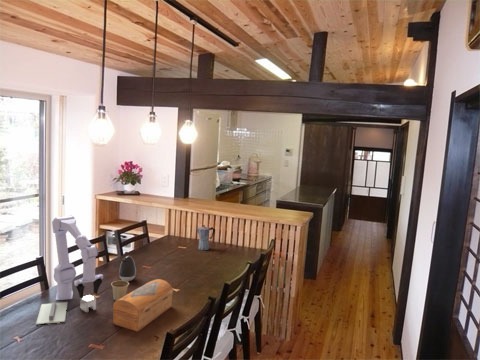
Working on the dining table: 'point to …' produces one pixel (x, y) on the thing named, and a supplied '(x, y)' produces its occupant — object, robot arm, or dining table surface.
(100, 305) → the dining table surface
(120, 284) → the flower pot
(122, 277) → the egg shaped speaker
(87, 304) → the block
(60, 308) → the rail plate
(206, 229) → the moka pot
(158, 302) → the wooden box
